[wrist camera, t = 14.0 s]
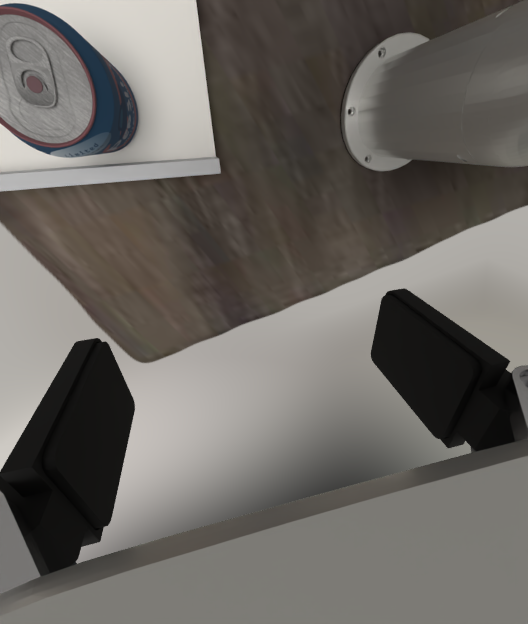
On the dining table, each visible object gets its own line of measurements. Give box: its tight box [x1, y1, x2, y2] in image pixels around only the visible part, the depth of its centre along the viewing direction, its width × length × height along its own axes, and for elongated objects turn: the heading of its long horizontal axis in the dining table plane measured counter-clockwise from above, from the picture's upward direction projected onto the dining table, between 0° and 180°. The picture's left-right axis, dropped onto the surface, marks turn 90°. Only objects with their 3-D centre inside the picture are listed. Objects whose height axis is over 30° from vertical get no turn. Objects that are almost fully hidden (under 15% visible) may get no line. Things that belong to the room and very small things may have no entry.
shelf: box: [0, 0, 221, 191], centre depth 23 cm, size 20×15×7 cm
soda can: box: [0, 3, 138, 158], centre depth 19 cm, size 7×7×12 cm
